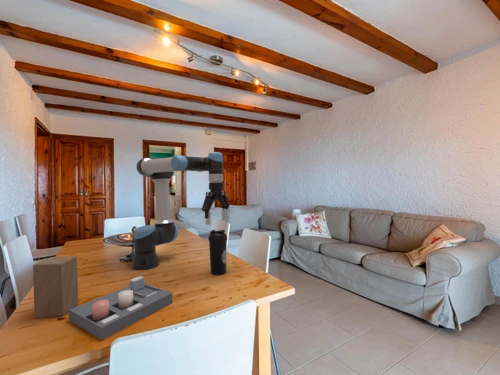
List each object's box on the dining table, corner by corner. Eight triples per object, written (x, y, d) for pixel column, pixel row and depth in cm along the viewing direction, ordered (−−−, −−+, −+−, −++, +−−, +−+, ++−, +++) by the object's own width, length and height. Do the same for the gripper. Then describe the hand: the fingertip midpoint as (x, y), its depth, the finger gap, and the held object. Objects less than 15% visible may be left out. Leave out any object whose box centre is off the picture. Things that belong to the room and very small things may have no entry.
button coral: (89, 318, 84) (89, 304, 84) (104, 312, 89) (104, 298, 89) (97, 322, 82) (96, 308, 82) (112, 315, 86) (112, 301, 86)
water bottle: (224, 276, 129) (223, 232, 128) (206, 275, 131) (205, 232, 130) (230, 269, 139) (229, 228, 138) (212, 268, 141) (212, 228, 140)
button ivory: (115, 307, 92) (115, 293, 92) (128, 301, 96) (128, 288, 96) (123, 310, 89) (123, 296, 89) (136, 304, 94) (135, 291, 94)
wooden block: (53, 305, 101) (51, 256, 101) (79, 303, 102) (77, 255, 101) (34, 318, 91) (32, 264, 91) (62, 316, 92) (61, 263, 91)
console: (69, 320, 89) (68, 306, 89) (139, 290, 113) (139, 280, 113) (101, 340, 78) (101, 324, 78) (172, 302, 102) (172, 290, 101)
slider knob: (129, 289, 104) (129, 279, 104) (140, 285, 109) (140, 275, 108) (133, 291, 103) (133, 281, 103) (144, 287, 107) (144, 277, 107)
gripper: (205, 182, 117) (206, 227, 118) (235, 181, 138) (235, 219, 139) (194, 182, 121) (194, 225, 121) (224, 181, 142) (224, 218, 143)
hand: (216, 222), depth 130 cm, fingers open, 13 cm apart
